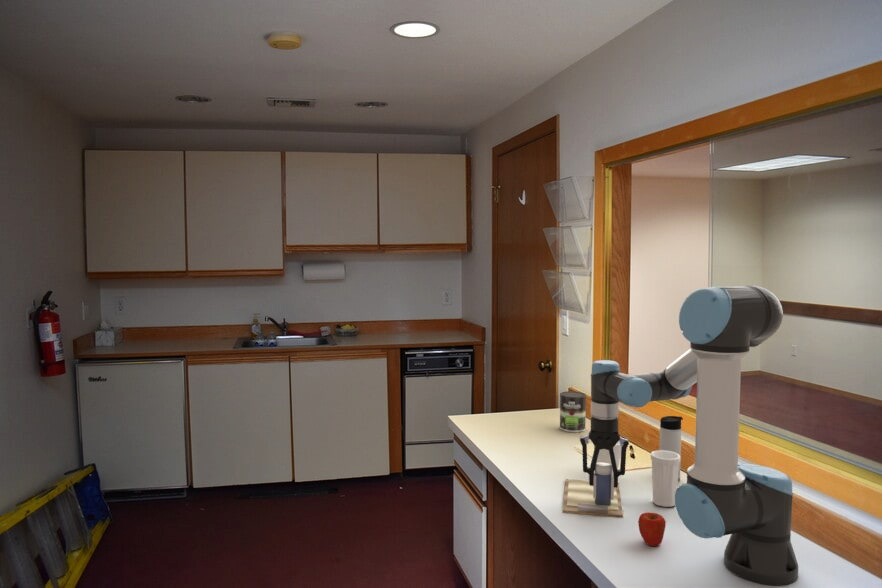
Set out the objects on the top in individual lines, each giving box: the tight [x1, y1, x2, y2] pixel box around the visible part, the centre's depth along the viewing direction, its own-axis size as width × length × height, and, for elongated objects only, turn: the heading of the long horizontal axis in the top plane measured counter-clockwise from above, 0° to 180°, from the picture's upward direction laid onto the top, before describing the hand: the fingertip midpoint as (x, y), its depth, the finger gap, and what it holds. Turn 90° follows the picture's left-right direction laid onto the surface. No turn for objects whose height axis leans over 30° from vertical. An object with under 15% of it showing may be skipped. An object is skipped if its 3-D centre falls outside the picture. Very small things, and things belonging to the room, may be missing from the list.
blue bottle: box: [594, 462, 612, 506], centre depth 178 cm, size 5×5×11 cm
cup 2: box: [650, 449, 680, 508], centre depth 179 cm, size 8×8×14 cm
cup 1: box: [593, 441, 621, 474], centre depth 203 cm, size 10×10×11 cm
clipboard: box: [562, 478, 624, 519], centre depth 184 cm, size 24×16×2 cm, turn 167°
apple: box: [637, 511, 667, 547], centre depth 156 cm, size 6×6×8 cm
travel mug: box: [659, 415, 684, 482], centre depth 198 cm, size 6×7×20 cm
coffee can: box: [559, 390, 587, 433], centre depth 252 cm, size 10×10×14 cm
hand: (603, 497), depth 178 cm, fingers closed on blue bottle, 4 cm apart
